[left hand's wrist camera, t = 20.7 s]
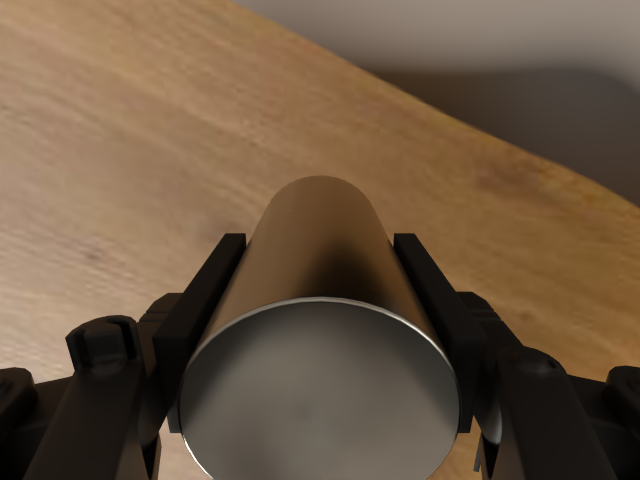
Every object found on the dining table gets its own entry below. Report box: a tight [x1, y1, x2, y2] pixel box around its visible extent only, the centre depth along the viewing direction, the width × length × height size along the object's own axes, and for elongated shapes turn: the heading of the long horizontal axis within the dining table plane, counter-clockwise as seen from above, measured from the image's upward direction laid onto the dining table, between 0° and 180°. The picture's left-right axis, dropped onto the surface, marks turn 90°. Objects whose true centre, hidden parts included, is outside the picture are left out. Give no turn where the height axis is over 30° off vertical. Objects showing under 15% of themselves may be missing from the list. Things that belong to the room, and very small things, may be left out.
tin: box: [177, 176, 462, 480], centre depth 12 cm, size 6×6×11 cm
